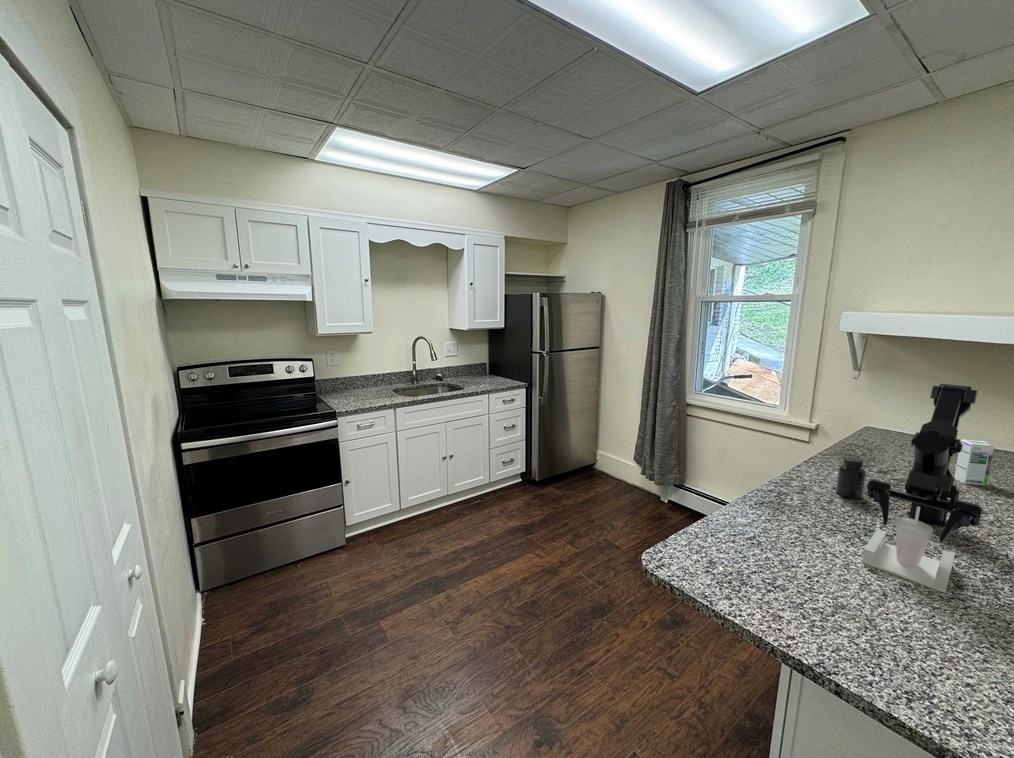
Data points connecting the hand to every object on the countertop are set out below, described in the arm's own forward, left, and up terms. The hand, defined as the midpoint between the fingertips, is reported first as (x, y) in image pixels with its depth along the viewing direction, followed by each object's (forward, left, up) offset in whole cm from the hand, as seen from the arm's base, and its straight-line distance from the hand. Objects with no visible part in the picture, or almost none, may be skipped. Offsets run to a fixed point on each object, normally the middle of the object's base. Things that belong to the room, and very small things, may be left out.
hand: (911, 533), depth 93 cm
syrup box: (-59, -59, -9) cm, 84 cm away
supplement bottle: (-11, -40, -9) cm, 42 cm away
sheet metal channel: (-1, -1, -9) cm, 9 cm away
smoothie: (-1, -1, -8) cm, 8 cm away
